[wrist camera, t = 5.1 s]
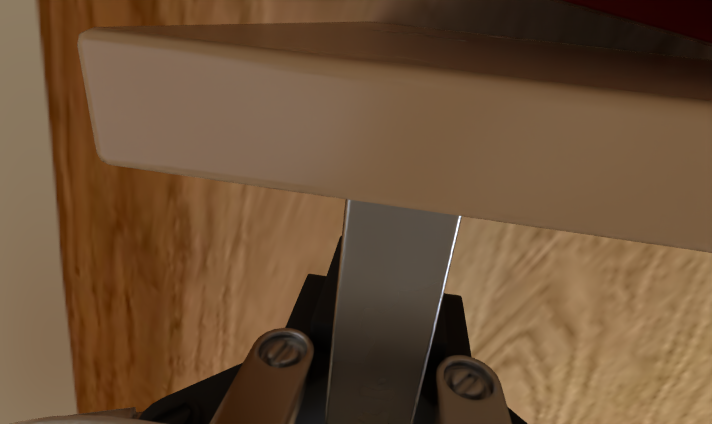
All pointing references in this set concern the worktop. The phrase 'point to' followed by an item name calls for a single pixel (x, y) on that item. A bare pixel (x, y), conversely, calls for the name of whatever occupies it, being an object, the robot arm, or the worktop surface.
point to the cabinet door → (411, 154)
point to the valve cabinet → (658, 15)
